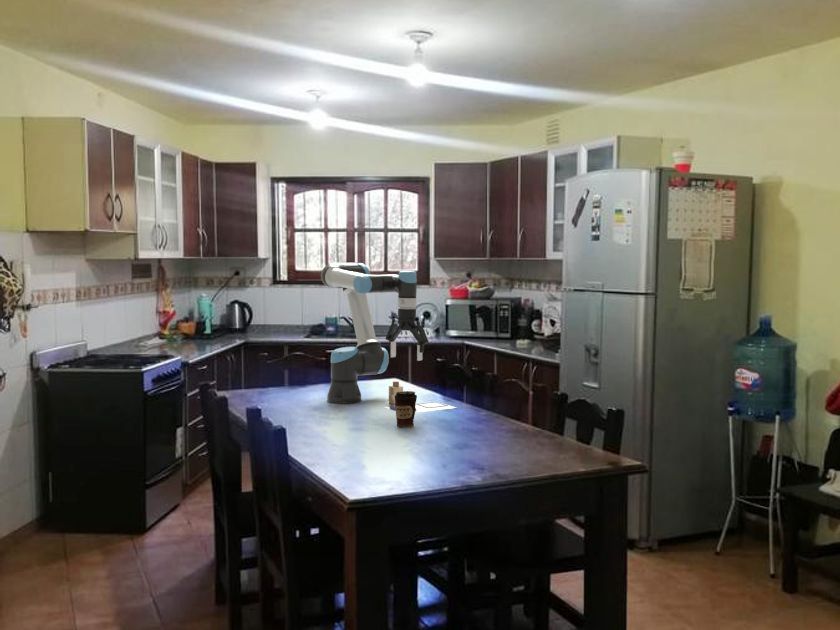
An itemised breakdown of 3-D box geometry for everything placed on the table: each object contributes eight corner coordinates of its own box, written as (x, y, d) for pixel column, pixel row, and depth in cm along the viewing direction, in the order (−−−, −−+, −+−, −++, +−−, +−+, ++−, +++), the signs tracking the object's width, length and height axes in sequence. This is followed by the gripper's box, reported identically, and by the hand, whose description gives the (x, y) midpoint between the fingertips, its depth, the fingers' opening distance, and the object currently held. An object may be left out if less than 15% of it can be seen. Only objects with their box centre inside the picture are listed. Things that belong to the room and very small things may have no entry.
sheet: (383, 407, 322) (383, 406, 322) (435, 402, 336) (435, 400, 336) (403, 414, 308) (403, 413, 308) (457, 408, 321) (457, 407, 321)
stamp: (388, 404, 330) (388, 381, 330) (397, 403, 333) (397, 380, 332) (393, 406, 326) (393, 382, 326) (403, 405, 329) (403, 382, 328)
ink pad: (389, 408, 319) (389, 405, 319) (404, 407, 322) (404, 403, 322) (401, 412, 310) (401, 409, 310) (416, 411, 314) (416, 407, 314)
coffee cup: (414, 429, 282) (414, 394, 281) (392, 428, 283) (392, 393, 282) (418, 424, 290) (418, 390, 289) (397, 423, 292) (397, 389, 291)
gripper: (377, 306, 321) (377, 356, 323) (427, 310, 307) (426, 362, 309) (388, 305, 327) (387, 354, 329) (437, 309, 313) (436, 360, 315)
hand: (406, 358), depth 319 cm, fingers open, 13 cm apart
